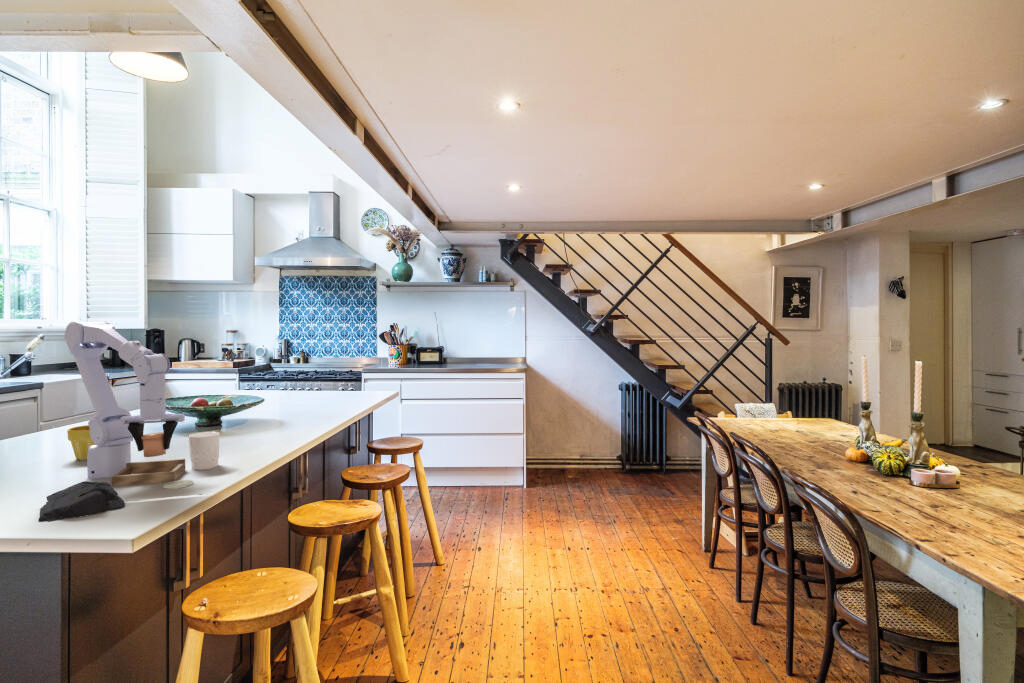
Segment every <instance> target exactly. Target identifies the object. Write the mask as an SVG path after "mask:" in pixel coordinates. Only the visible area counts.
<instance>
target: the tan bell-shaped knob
mask: <svg viewBox="0 0 1024 683" xmlns="http://www.w3.org/2000/svg"><path fill="white" fill-rule="evenodd" d="M141 439H142V440H143V450H142V452H143V457H144V458H154V457H158V456H159V457H160V456H163V455H166V454H167V450H164V431H163V432H162V431H159V432H150V433H146V434H143V435H142V436H141Z"/></svg>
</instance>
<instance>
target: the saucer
mask: <svg viewBox="0 0 1024 683" xmlns="http://www.w3.org/2000/svg"><path fill="white" fill-rule="evenodd" d="M193 484H194V481H193V480H191V479H179V480H178V479H177V480H175V481H172V482H165V483H164V484H162V488H163V489H165V490H175V489H176V490H177V489H183V488H188V487H190V486H193Z"/></svg>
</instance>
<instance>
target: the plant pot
mask: <svg viewBox="0 0 1024 683" xmlns="http://www.w3.org/2000/svg"><path fill="white" fill-rule="evenodd" d="M66 431H67V440H68V441H70V443H71V447H72V450H73V453H74V456H75V459H87V453H88V450H89V448H90V446H92V445H96V444H95V443H94V442H93V441H92V440H91V437H90V428H89V425H87V424H86V425H80V426H74V427H73V426H72V427H70V428H68V429H67V430H66Z"/></svg>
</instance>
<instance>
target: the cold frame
mask: <svg viewBox="0 0 1024 683" xmlns="http://www.w3.org/2000/svg"><path fill="white" fill-rule="evenodd" d="M185 472H186V458H178V459H177V458H176V459H175V458H174V459H164V460H163V459H160V460H149V461H134V462H132V461H131V463H126V468H124V469H123V470H121V471H120V472H118V473H117V474H115V475H114V476H112V477H111V487H119V486H120V487H121V486H131V485H132V486H133V485H143V484H144V485H145V484H156V483H159V484H160V483H168V482H172V481H177V480H178V479H179V477H180V476H182V475H183V474H184V473H185Z"/></svg>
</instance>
